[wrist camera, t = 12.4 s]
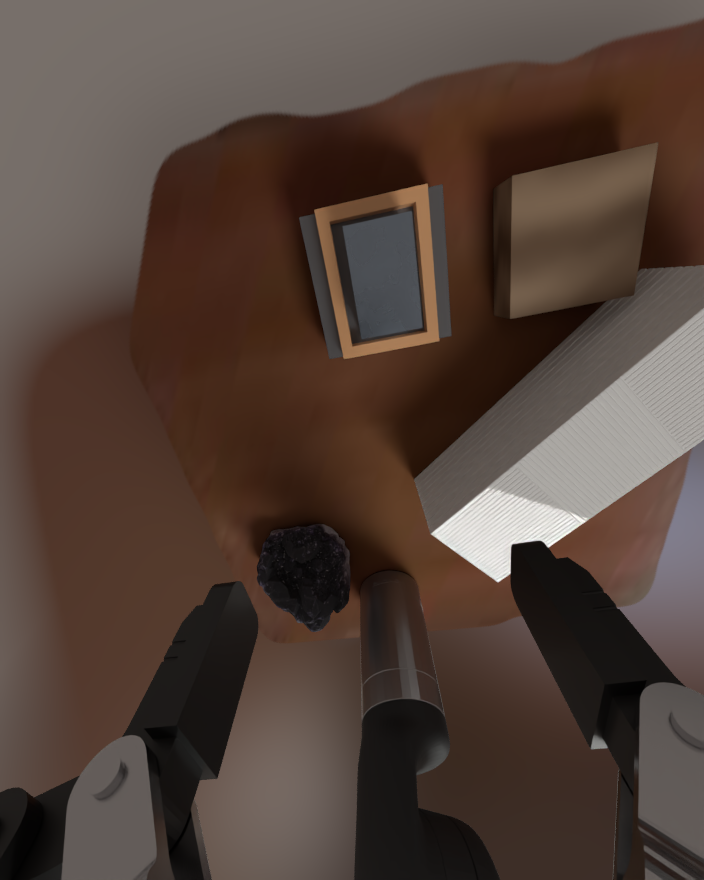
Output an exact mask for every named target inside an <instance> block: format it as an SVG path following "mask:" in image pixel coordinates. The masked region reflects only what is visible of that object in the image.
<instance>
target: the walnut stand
mask: <svg viewBox="0 0 704 880" xmlns="http://www.w3.org/2000/svg"><path fill="white" fill-rule="evenodd" d="M657 148H658V142H657V143H653V144H649V145H644V146H640V147H636V148H631V149H627V150H622V151H618V152H614V153H609V154H605V155H601V156H596V157H592V158H588V159H583V160H579V161H575V162H570V163H566V164H561V165H557V166H553V167H548V168H544V169H540V170H535V171H531V172H527V173H522V174H518V175H514V176H511V177H510V178H508V179H507V180H505V181H504V182H503V183H501V184H500V185H498V186H497V187H495V188H494V189H493V236H494V316H498V317H503V318H507V319H513V318H519V317H524V316H529V315H534V314H539V313H545V312H550V311H555V310H560V309H566V308H571V307H576V306H581V305H586V304H592V303H597V302H602V301H607V300H612V299H618V298H623V297H628V296H633V295H634V292H635V286H636V280H637V273H638V267H639V261H640V255H641V248H642V242H643V236H644V230H645V223H646V217H647V211H648V205H649V198H650V192H651V186H652V180H653V173H654V167H655V161H656V155H657Z"/></svg>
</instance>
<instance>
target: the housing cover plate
mask: <svg viewBox="0 0 704 880" xmlns="http://www.w3.org/2000/svg"><path fill="white" fill-rule="evenodd" d="M342 227H343V232H344V238H345V244H346V250H347V256H348V262H349V268H350V274H351V280H352V286H353V292H354V297H355V303H356V309H357V315H358V321H359V327H360V333H361V339H367V338H372V337H377V336H382V335H387V334H393V333H398V332H403V331H408V330H413V329H419V328H423V327H422V316H421V305H420V294H419V283H418V273H417V262H416V251H415V240H414V229H413V218H412V211H409V212H404V213H400V214H395V215H391V216H387V217H382V218H378V219H373V220H369V221H364V222H360V223H355V224H351V225H346V226H342Z"/></svg>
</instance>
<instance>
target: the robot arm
mask: <svg viewBox="0 0 704 880" xmlns="http://www.w3.org/2000/svg"><path fill="white" fill-rule="evenodd" d="M511 589H512V593H513V596H514V599H515V602H516V604H517V606H518V608H519V610H520V612H521V614H522V616H523V618H524V620H525V622H526V624H527V626H528V628H529V630H530V632H531V634H532V636H533V638H534V639H535V641H536V643H537V645H538V647H539V649H540V651H541V653H542V655H543V657H544V659H545V661H546V663H547V665H548V667H549V669H550V671H551V673H552V675H553V677H554V679H555V681H556V682H557V684H558V686H559V688H560V690H561V692H562V694H563V696H564V698H565V700H566V702H567V704H568V706H569V708H570V710H571V712H572V714H573V716H574V718H575V719H576V721H577V723H578V725H579V727H580V729H581V731H582V733H583V735H584V737H585V739H586V741H587V743H588V745H589V747H590V749H599V748H608V749H609V750H610V752H611V754H612V756H613V758H614V760H615V761H616V763H617V765H618V767H619V772H618V788H617V808H616V828H615V848H614V867H613V880H704V696H703V695H702V694H700V693H698V692H696V691H694V690H692V689H690V688H687V687H685V686H684V685H683V684H682V683H681V682H680V681H679V680H678V679H677V678H676V677H675V676H674V675H673V674H672V672H671V671H670V670H669V669H668V668H667V666H666V665H665V664H664V663H663V662H662V660H661V659H660V658H659V657H658V656H657V654H656V653H655V652H654V651H653V650H652V648H651V647H650V646H649V645H648V643H647V642H646V641H645V640H644V639H643V637H642V636H641V635H640V634H639V632H638V631H637V630H636V629H635V628H634V626H633V625H632V624H631V623H630V622H629V620H628V619H627V618H626V617H625V615H624V614H623V613H622V612H621V611H620V609H617V607H616V605H615V603H614V602H613V601H612V600H611V598H610V597H609V596H608V595H607V594H606V593H604V591H603V589H602V588H601V586H600V585H599V584H598V583H597V581H596V580H595V579H594V578H593V577H592V575H591V574H590V573H589V572H588V571H587V570H585V569H584V568H583V567H581V566H580V565H578V564H577V563H575V562H574V561H572V560H571V559H569V558H568V557H566V558H559V559H556V558H555V556H554V555H553V554H552V552H551V551H550V550H549V548H548V547H547V546H546V544H545V543H544V542H542V541H540V540H539V541H531V542H524V543H517V544H512V546H511ZM360 631H361V692H362V694H361V695H362V741H361V748H360V756H359V763H358V783H357V821H356V846H355V876H354V877H355V879H354V880H500V878H499V875H498V873H497V870H496V868H495V865H494V863H493V861H492V859H491V857H490V855H489V853H488V851H487V849H486V847H485V845H484V843H483V841H482V840H481V839H480V837H479V836H478V835H477V834H476V832H475V831H474V830H473V829H472V828H471V827H470V826H469V825H467V824H466V823H464V822H463V821H461V820H458V819H456V818H454V817H451V816H447V815H443V814H440V813H436V812H432V811H428V810H424V809H420V808H418V799H417V779H416V775H418V774H422V773H424V772H427V771H430V770H432V769H433V768H435V767H437V766H438V765H440V764H441V763H442V762H443V761H444V760H445V759H446V757H447V755H448V753H449V748H450V741H449V736H448V735H449V734H448V730H447V725H446V720H445V715H444V710H443V705H442V701H441V696H440V691H439V687H438V682H437V677H436V672H435V667H434V663H433V658H432V653H431V648H430V643H429V639H428V633H427V628H426V623H425V619H424V614H423V608H422V604H421V599H420V594H419V589H418V585H417V583H416V582H415V580H414V579H413V578H412V577H410V576H409V575H407V574H405V573H403V572H399V571H382V572H378V573H375V574H373V575H371V576H370V577H368V578H367V579H366V580H365V581H364V582H363V584H362V586H361V589H360ZM257 634H258V617H257V614H256V611H255V609H254V607H253V605H252V603H251V600H250V598H249V596H248V594H247V592H246V590H245V587H244V585H243V584H242V582H240V581H237V582H230V583H222V584H215V585H214V586H212V588H211V590H210V591H209V593H208V595H207V597H206V599H205V602H204V604H203V605H199V606H196V607H195V609H194V610H193V611H192V612H191V613H190V614H189V615H188V617H187V618H186V619H185V620H184V621H183V622H182V624H181V626H180V628H179V630H178V632H177V633H176V636H175V637H174V639H173V642H172V646H170V647H169V649H168V651H167V653H166V655H165V657H164V662H162V663H161V665H160V666H159V669H158V670H157V672H156V674H155V676H154V678H153V680H152V682H151V684H150V686H149V688H148V690H147V692H146V694H145V696H144V698H143V700H142V701H141V703H140V705H139V707H138V709H137V711H136V713H135V715H134V717H133V719H132V721H131V723H130V725H129V726H128V728H127V730H126V732H125V733H124V735H123V736H122V737H121V738H119V739H117V740H115V741H113V742H112V743H110V744H109V745H107V746H106V747H105V748H104V749H102V750H101V751H100V752H99V753H98V754H97V755H96V756H95V757H94V758H93V759H92V760H91V762H90V763H89V764H88V765H87V767H86V768H85V769H84V771H83V772H82V773H81V775H80V776H78V777H76V778H74V779H72V780H70V781H67V782H65V783H63V784H61V785H59V786H57V787H55V788H53V789H51V790H49V791H47V792H45V793H43V794H40V795H38V796H36V797H33V796H31V795H30V794H29V793H27V792H26V791H25V790H23V789H21V788H11V789H7V790H5V791H3V792H0V880H212V879H211V874H210V869H209V864H208V860H207V854H206V849H205V844H204V840H203V834H202V829H201V825H200V820H199V815H198V810H197V805H196V802H195V800H194V797H195V794H196V790H197V787H198V784H199V781H200V780H207V779H217V778H218V774H219V771H220V767H221V764H222V760H223V756H224V753H225V749H226V746H227V742H228V739H229V735H230V732H231V728H232V724H233V721H234V717H235V714H236V710H237V706H238V703H239V699H240V696H241V692H242V689H243V685H244V681H245V678H246V674H247V671H248V667H249V663H250V660H251V656H252V653H253V649H254V645H255V642H256V639H257Z"/></svg>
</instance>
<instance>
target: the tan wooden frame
mask: <svg viewBox="0 0 704 880" xmlns="http://www.w3.org/2000/svg"><path fill="white" fill-rule="evenodd" d="M314 211H315V214H312V215H308V216H303V217H299V220H300V225H301V229H302V234H303V238H304V243H305V248H306V252H307V257H308V262H309V266H310V271H311V275H312V280H313V285H314V289H315V294H316V299H317V303H318V308H319V312H320V317H321V322H322V326H323V331H324V336H325V340H326V345H327V349H328V354H329V359H332V358H338V357H344V359H348V358H353V357H359V356H364V355H369V354H374V353H380V352H385V351H390V350H395V349H401V348H406V347H411V346H417V345H422V344H427V343H432V342H438V341H439V338H443V337H448V336H451V320H450V303H449V286H448V269H447V252H446V235H445V218H444V201H443V184H442V185H437V186H433V187H429V188H428V183H427V184H423V185H419V186H414V187H410V188H406V189H401V190H397V191H393V192H388V193H384V194H380V195H376V196H371V197H367V198H363V199H358V200H354V201H350V202H345V203H341V204H337V205H333V206H328V207H324V208H320V209H315V210H314ZM409 211H412V218H413V229H414V240H415V251H416V262H417V273H418V283H419V294H420V305H421V316H422V327H423V328H419V329H413V330H408V331H403V332H398V333H393V334H387V335H382V336H377V337H372V338H367V339H361V333H360V327H359V321H358V315H357V309H356V303H355V297H354V292H353V286H352V280H351V274H350V268H349V262H348V256H347V250H346V244H345V238H344V232H343V227H342V226H346V225H351V224H355V223H360V222H364V221H369V220H373V219H378V218H382V217H387V216H391V215H395V214H400V213H404V212H409Z"/></svg>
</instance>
